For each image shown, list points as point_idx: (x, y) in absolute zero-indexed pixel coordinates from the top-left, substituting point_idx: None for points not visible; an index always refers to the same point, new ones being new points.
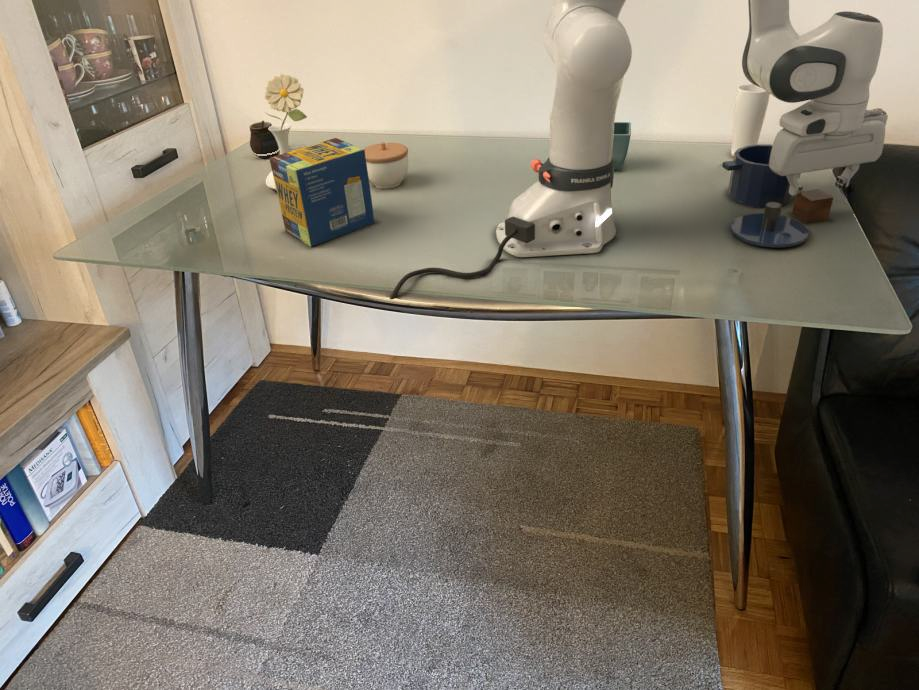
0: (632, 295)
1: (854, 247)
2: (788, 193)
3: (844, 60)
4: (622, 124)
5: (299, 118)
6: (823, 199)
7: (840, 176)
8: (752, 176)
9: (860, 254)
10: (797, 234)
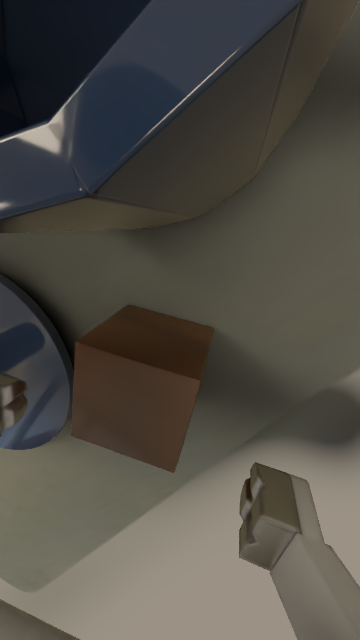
0: None
1: (128, 502)
2: (156, 223)
3: None
4: None
5: None
6: (126, 454)
7: (279, 533)
8: None
9: (115, 519)
10: (20, 430)
